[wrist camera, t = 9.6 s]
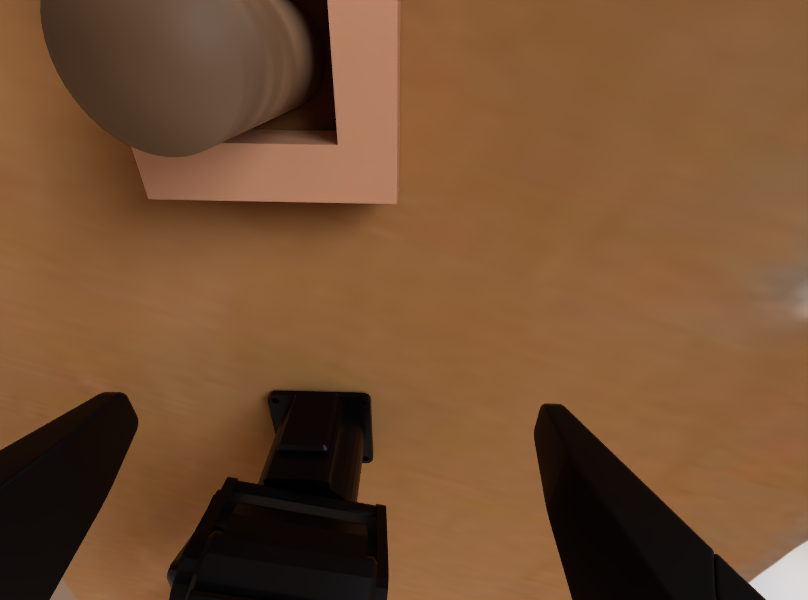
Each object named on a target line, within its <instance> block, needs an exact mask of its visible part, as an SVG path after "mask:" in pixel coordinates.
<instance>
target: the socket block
mask: <svg viewBox="0 0 808 600" xmlns="http://www.w3.org/2000/svg"><path fill="white" fill-rule="evenodd" d="M400 1H401V0H327V2H328V16H329V30H330V44H331V57H332V71H333V85H334V99H335V113H336V127H337V131H317V130H257V129H250V130H248V131H246V132H243V133H241V134H239V135H237V136H235V137H233V138H231V139H229V140H226V141H224V142H222V143H220V144H218V145H216V146H214V147H212V148H209V149H207V150H205V151H203V152H200V153H198V154H195V155H190V156H185V157H163V156H158V155H153V154H149V153H146V152H143V151H140V150H138V149H135V148H133V147H131V148H132V151H133V154H134V157H135V160H136V163H137V166H138V169H139V172H140V175H141V178H142V181H143V184H144V187H145V190H146V193H147V196H148V199H162V200H214V201H266V202H318V203H370V204H397V199H398V191H399V175H400Z"/></svg>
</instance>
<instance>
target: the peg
mask: <svg viewBox="0 0 808 600" xmlns="http://www.w3.org/2000/svg"><path fill="white" fill-rule="evenodd" d="M40 12H41V21H42V28H43V33H44V37H45V42H46V45H47V48H48V51H49V54H50V57H51V59H52V61H53V63H54V66H55V68H56V70H57V72H58V74H59V76H60V78H61V79H62V81H63V83H64V85H65V86H66V88H67V89H68V91H69V92H70V94H71V95H72V97H73V98H74V99H75V100H76V102H77V103H78V104H79V105H80V107H81V108H82V109H83V110H84V111H85V112H86V113H87V114H88V115H89V116H90V117H91V118H92V119H93V120H94V121H95V122H96V123H97V124H98V125H99V126H101V127H102V128H103V129H104V130H105V131H107V132H108V133H109V134H111V135H112V136H114V137H115V138H117V139H118V140H120V141H122V142H123V143H125V144H127V145H129V146H131V147H133V148H135V149H138V150H140V151H143V152H146V153H149V154H153V155H158V156H163V157H185V156H190V155H195V154H198V153H200V152H203V151H205V150H207V149H209V148H212V147H214V146H216V145H218V144H220V143H222V142H224V141H226V140H229V139H231V138H233V137H235V136H237V135H239V134H241V133H243V132H246V131H248V130H250V129H252V128H254V127H256V126H258V125H260V124H263V123H265V122H267V121H269V120H271V119H273V118H275V117H277V116H280V115H282V114H284V113H286V112H288V111H290V110H292V109H294V108H297V107H299V106H301V105H302V104H304V103H306V102H307V101H308V100H309V99H310V98H311V97H312V96H313V95H314V94H315V93H316V91H317V90H318V88H319V86H320V84H321V81H322V78H323V74H324V69H325V52H324V46H323V42H322V38H321V35H320V33H319V30H318V28H317V26H316V24H315V23H314V21H313V20H312V18H311V17H310V15H309V14H308V13H307V12H306V11H305V10H304V9H303V8H302V7H301V6H300V5H299V4H298V3H296V2H295V1H294V0H41V8H40Z"/></svg>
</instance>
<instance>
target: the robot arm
mask: <svg viewBox="0 0 808 600" xmlns="http://www.w3.org/2000/svg"><path fill="white" fill-rule="evenodd" d="M276 398H277V399H276ZM361 400H364V401H361ZM268 404H269V408H270V412H271V417H272V421H273V425H274V429H275V434H276V435H275V438H274V441H273V444H272V446H271V449H270V452H269V455H268V457H267V460H266V463H265V466H264V468H263V471H262V474H261V477H260V479H259V482H258V484H254V483H249V482H243V481H238V479H237V478H231V477H228V478H227V479H226V481H225V483H224V485H223V486H222V488H221V490H218V491H217V492H216V494H215V495H213V497H212V499H211V502H210V504H209V506H208V508H207V510H206V512H205V514H204V515H203V517H202V519H201V521H200V523H199V524H198V526H197V528H196V530H195V532H194V533H193V535H192V536H191V538H190V539H189V540H188V542H187V543H186V544H185V546H184V547H183V548H182V550H181V551H180V552H179V554H178V555H177V556H176V558H175V559H174V561H173V562H172V564H171V565H170V568H169V570H168V573H167V579H168V582H169V584H170V587H171V592H170V598H169V600H387V593H388V544H387V518H386V506H385V505H380V504H376V506H375V505H370V504H364V503H359V502H357V497H358V489H359V482H360V474H361V466H362V463H370V462H371V461H372V460H373V437H372V415H371V398H370V396H369V395H368V394H366V393H353V392H314V391H272V392H271V393H270V395H269V397H268ZM137 428H138V417H137V415H136V413H135V411H134V409H133V407H132V405H131V403H130V401H129V399H128V397H127V395H126V394H124V393H121V392H104V393H101V394H99V395H97V396H95V397H93V398H92V399H90V400H88V401H86V402H85V403H83V404H81V405H79V406H78V407H76V408H74V409H72V410H70V411H69V412H67V413H65V414H63V415H62V416H60V417H58V418H56V419H55V420H53V421H51V422H49V423H48V424H46V425H44V426H42V427H41V428H39V429H37V430H35V431H34V432H32V433H30V434H28V435H26V436H25V437H23V438H21V439H19V440H18V441H16V442H14V443H12V444H11V445H9V446H7V447H5V448H4V449H2V450H0V600H50V598H51V596H52V594H53V593H54V591H55V589H56V587H57V585H58V584H59V582H60V580H61V578H62V577H63V575H64V573H65V571H66V569H67V568H68V566H69V564H70V562H71V561H72V559H73V557H74V555H75V553H76V552H77V550H78V548H79V546H80V544H81V543H82V541H83V539H84V537H85V536H86V534H87V532H88V530H89V528H90V527H91V525H92V523H93V521H94V520H95V518H96V516H97V514H98V512H99V511H100V509H101V507H102V505H103V503H104V501H105V499H106V498H107V495H108V493H109V491H110V489H111V487H112V485H113V483H114V480H115V478H116V476H117V474H118V471H119V469H120V467H121V465H122V462H123V460H124V458H125V456H126V453H127V451H128V449H129V446H130V444H131V442H132V440H133V437H134V435H135V433H136V431H137ZM534 441H535V447H536V452H537V458H538V464H539V469H540V475H541V481H542V487H543V492H544V498H545V503H546V508H547V513H548V516H549V520H550V524H551V527H552V531H553V534H554V538H555V541H556V545H557V548H558V552H559V555H560V559H561V562H562V565H563V569H564V572H565V576H566V579H567V583H568V586H569V590H570V593H571V597H572V600H765V598H763V597H762V596H761V595H760V594H759V593H758V592H757V591H756V590H755V589H754V588H753V587H752V586H751V585H750V584H748V583H747V582H746V581H745V580H744V579H743V578H742V577H741V576H740V575H739V574H738V573H737V572H736V571H735V570H734V569H733V568H732V567H731V566H730V565H728V564H727V563H726V562H725V561H724V560H723V559H722V558H721V557H720V556H719V555H718V554H714V551H713V549H712V548H711V547H710V546H709V545H708V544H706V543H705V542H704V541H703V540H702V539H701V538H700V537H699V536H698V535H697V534H696V533H695V532H694V531H693V530H692V529H691V528H690V527H689V526H688V525H687V524H686V523H685V522H684V521H683V520H682V519H681V518H680V517H679V516H677V515H676V514H675V513H674V512H673V511H672V510H671V509H670V508H669V507H668V506H667V505H666V504H665V503H664V502H663V501H662V500H661V499H660V498H659V497H658V496H657V495H656V494H655V493H654V492H653V491H652V490H651V489H650V488H648V487H647V486H646V485H645V484H644V483H643V482H642V481H641V480H640V479H639V478H638V477H637V476H636V475H635V474H634V473H633V472H632V471H631V470H630V469H629V468H628V467H627V466H626V465H625V464H624V463H623V462H622V461H620V460H619V459H618V458H617V457H616V456H615V455H614V454H613V453H612V452H611V451H610V450H609V449H608V448H607V447H606V446H605V445H604V444H603V443H602V442H601V441H600V440H599V439H598V438H597V437H596V436H595V435H594V434H593V433H591V432H590V431H589V430H588V429H587V428H586V427H585V426H584V425H583V424H582V423H581V422H580V421H579V420H578V419H577V418H576V417H575V416H574V415H573V414H572V413H571V412H570V411H569V410H568V409H567V408H566V407H564V406H563V405H561V404H543V405H542V406H541V407H540V410H539V414H538V418H537V422H536V425H535V429H534Z"/></svg>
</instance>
